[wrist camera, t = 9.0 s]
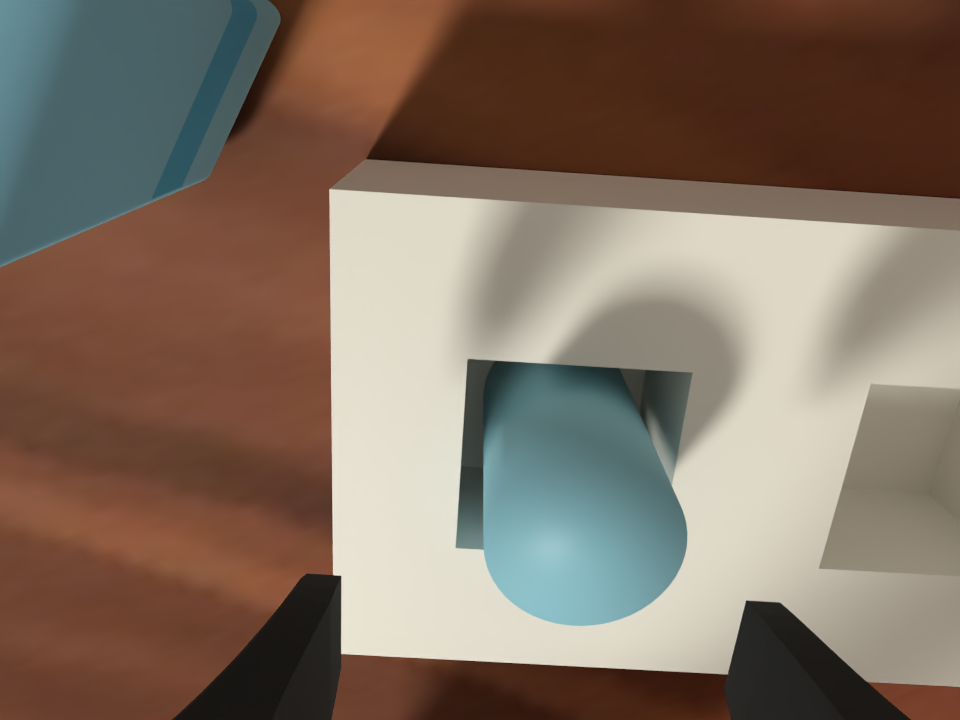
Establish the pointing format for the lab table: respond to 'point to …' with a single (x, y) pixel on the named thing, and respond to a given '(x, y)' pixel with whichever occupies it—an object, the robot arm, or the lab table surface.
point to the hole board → (654, 405)
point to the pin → (574, 495)
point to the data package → (115, 105)
